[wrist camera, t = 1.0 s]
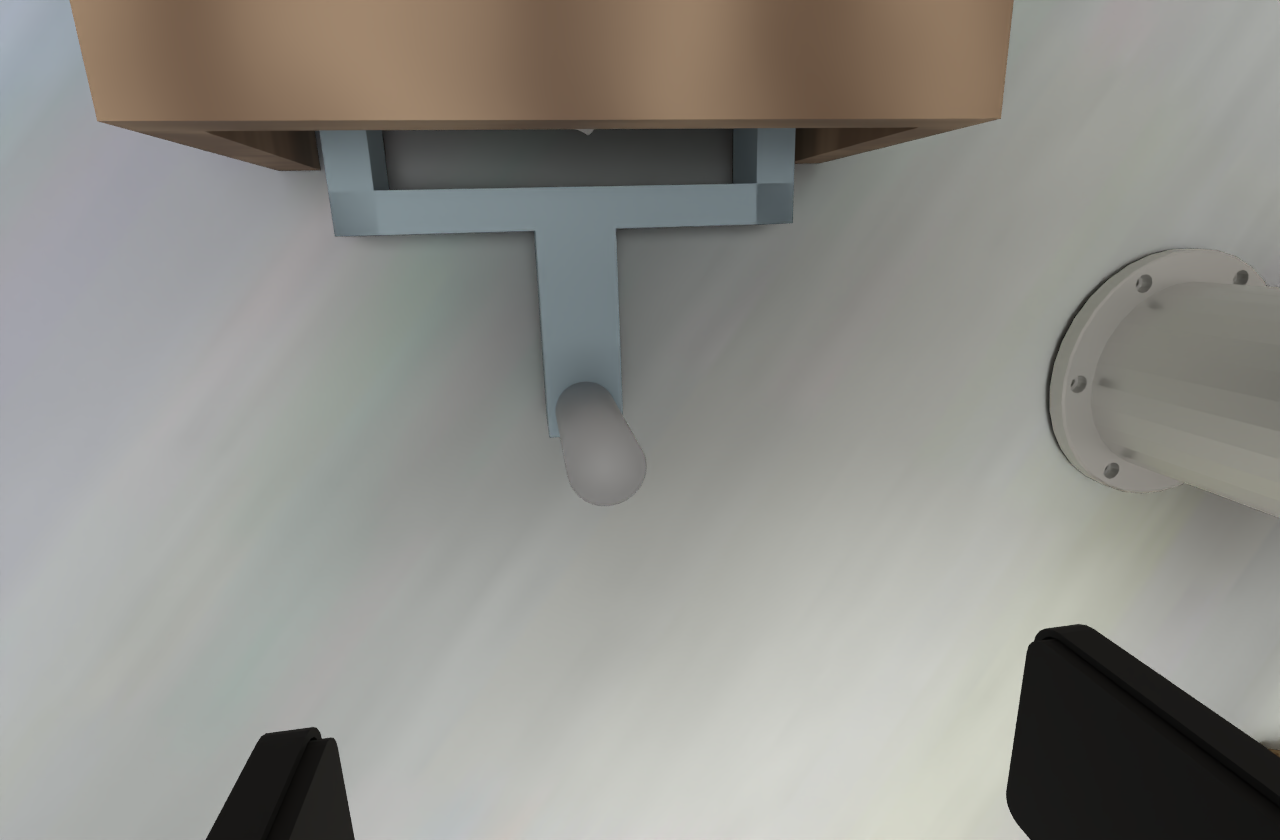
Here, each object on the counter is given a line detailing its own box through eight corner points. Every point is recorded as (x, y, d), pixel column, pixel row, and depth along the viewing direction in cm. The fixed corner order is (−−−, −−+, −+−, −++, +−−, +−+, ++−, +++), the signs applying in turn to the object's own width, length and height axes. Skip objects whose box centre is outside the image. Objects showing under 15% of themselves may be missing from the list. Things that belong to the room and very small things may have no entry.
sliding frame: (285, -266, 22) (104, -650, 12) (775, -226, 25) (935, -517, 15) (382, 434, 28) (313, 533, 19) (762, 406, 31) (867, 481, 22)
